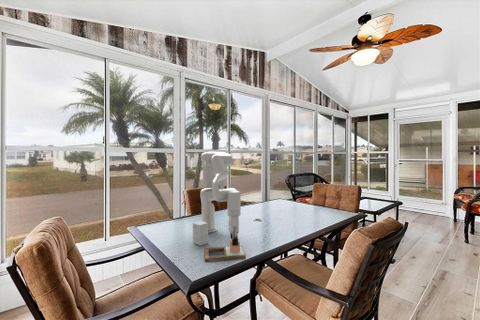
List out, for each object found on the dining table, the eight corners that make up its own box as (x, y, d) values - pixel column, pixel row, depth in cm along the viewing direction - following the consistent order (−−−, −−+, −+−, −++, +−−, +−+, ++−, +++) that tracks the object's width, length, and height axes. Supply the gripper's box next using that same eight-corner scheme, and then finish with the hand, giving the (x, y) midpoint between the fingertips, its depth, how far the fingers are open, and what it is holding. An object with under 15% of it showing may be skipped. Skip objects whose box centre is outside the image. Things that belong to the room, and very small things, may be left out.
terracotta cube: (229, 248, 129) (229, 239, 129) (238, 247, 130) (238, 238, 130) (230, 252, 123) (230, 242, 123) (239, 251, 124) (239, 242, 124)
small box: (208, 243, 142) (208, 222, 142) (200, 246, 137) (200, 225, 137) (200, 239, 148) (200, 220, 147) (192, 242, 143) (192, 222, 143)
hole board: (205, 250, 131) (205, 247, 131) (241, 247, 134) (241, 244, 134) (204, 261, 117) (204, 258, 117) (245, 258, 120) (245, 255, 120)
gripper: (226, 208, 134) (226, 236, 135) (228, 217, 117) (228, 248, 118) (238, 208, 135) (238, 235, 136) (242, 216, 118) (242, 247, 119)
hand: (234, 241), depth 127 cm, fingers open, 9 cm apart
